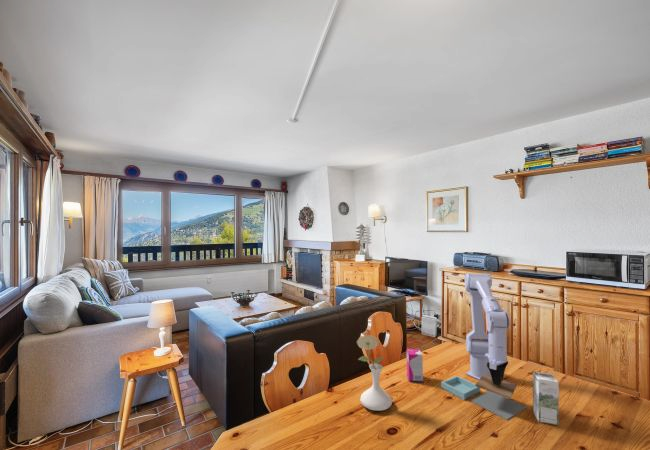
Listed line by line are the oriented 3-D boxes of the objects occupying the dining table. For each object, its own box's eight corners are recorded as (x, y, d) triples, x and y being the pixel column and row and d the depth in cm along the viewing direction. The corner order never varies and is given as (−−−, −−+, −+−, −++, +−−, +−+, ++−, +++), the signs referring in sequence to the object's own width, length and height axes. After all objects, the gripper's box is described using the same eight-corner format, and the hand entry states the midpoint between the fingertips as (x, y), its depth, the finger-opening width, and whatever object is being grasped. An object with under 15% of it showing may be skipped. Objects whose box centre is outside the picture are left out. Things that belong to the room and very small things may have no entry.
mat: (490, 391, 118) (490, 390, 118) (526, 407, 107) (526, 406, 107) (470, 401, 111) (470, 400, 111) (507, 420, 100) (507, 419, 100)
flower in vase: (395, 400, 112) (394, 332, 112) (388, 417, 101) (387, 343, 102) (361, 392, 117) (361, 328, 118) (351, 408, 107) (351, 337, 107)
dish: (456, 381, 125) (456, 375, 125) (479, 392, 117) (479, 386, 117) (441, 388, 120) (441, 382, 120) (464, 400, 112) (464, 393, 112)
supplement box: (420, 375, 131) (419, 349, 131) (423, 382, 125) (423, 354, 125) (406, 375, 131) (406, 348, 131) (408, 381, 125) (408, 354, 125)
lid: (483, 375, 117) (484, 363, 117) (516, 386, 110) (517, 373, 110) (475, 386, 109) (475, 373, 109) (510, 398, 102) (511, 385, 102)
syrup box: (552, 415, 102) (551, 373, 103) (559, 426, 97) (558, 381, 97) (532, 412, 104) (532, 370, 104) (538, 422, 99) (538, 378, 99)
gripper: (490, 336, 117) (490, 371, 117) (479, 347, 106) (480, 386, 106) (511, 341, 113) (511, 377, 112) (502, 353, 102) (503, 393, 102)
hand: (497, 382), depth 109 cm, fingers closed on lid, 3 cm apart
